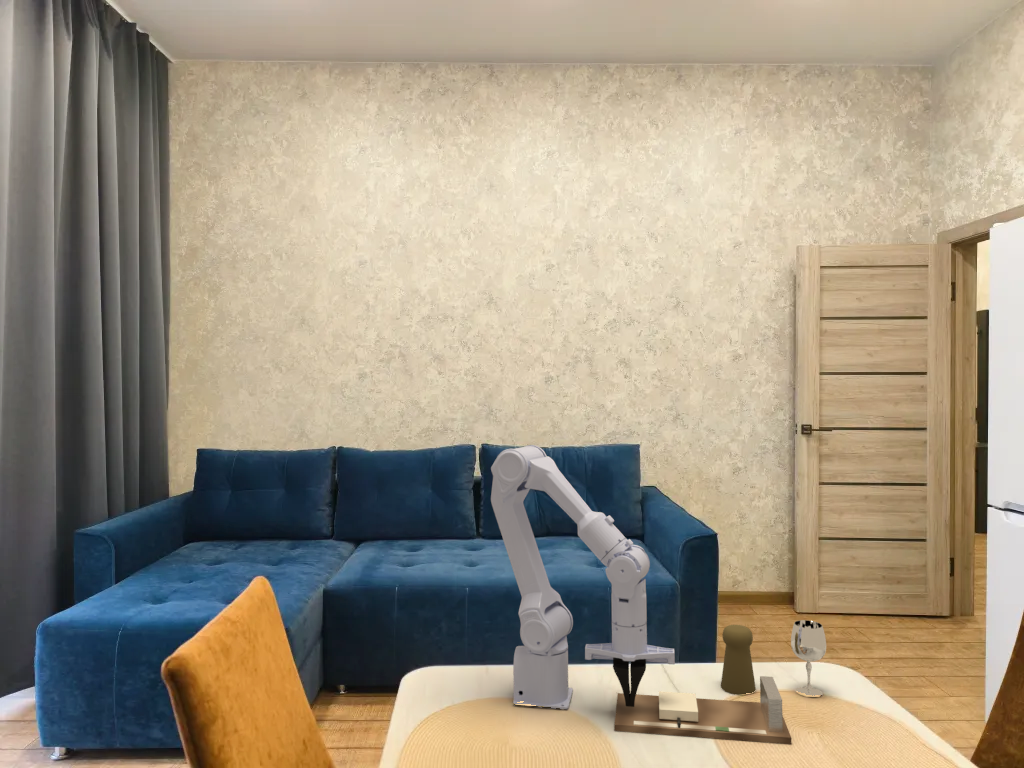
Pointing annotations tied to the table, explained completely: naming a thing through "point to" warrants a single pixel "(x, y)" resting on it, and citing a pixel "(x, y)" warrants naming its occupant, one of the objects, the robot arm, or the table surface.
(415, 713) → the table surface
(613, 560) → the robot arm
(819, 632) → the wineglass
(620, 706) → the gauge base
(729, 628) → the cork
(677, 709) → the carriage
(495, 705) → the table surface
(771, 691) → the gray stone tile
